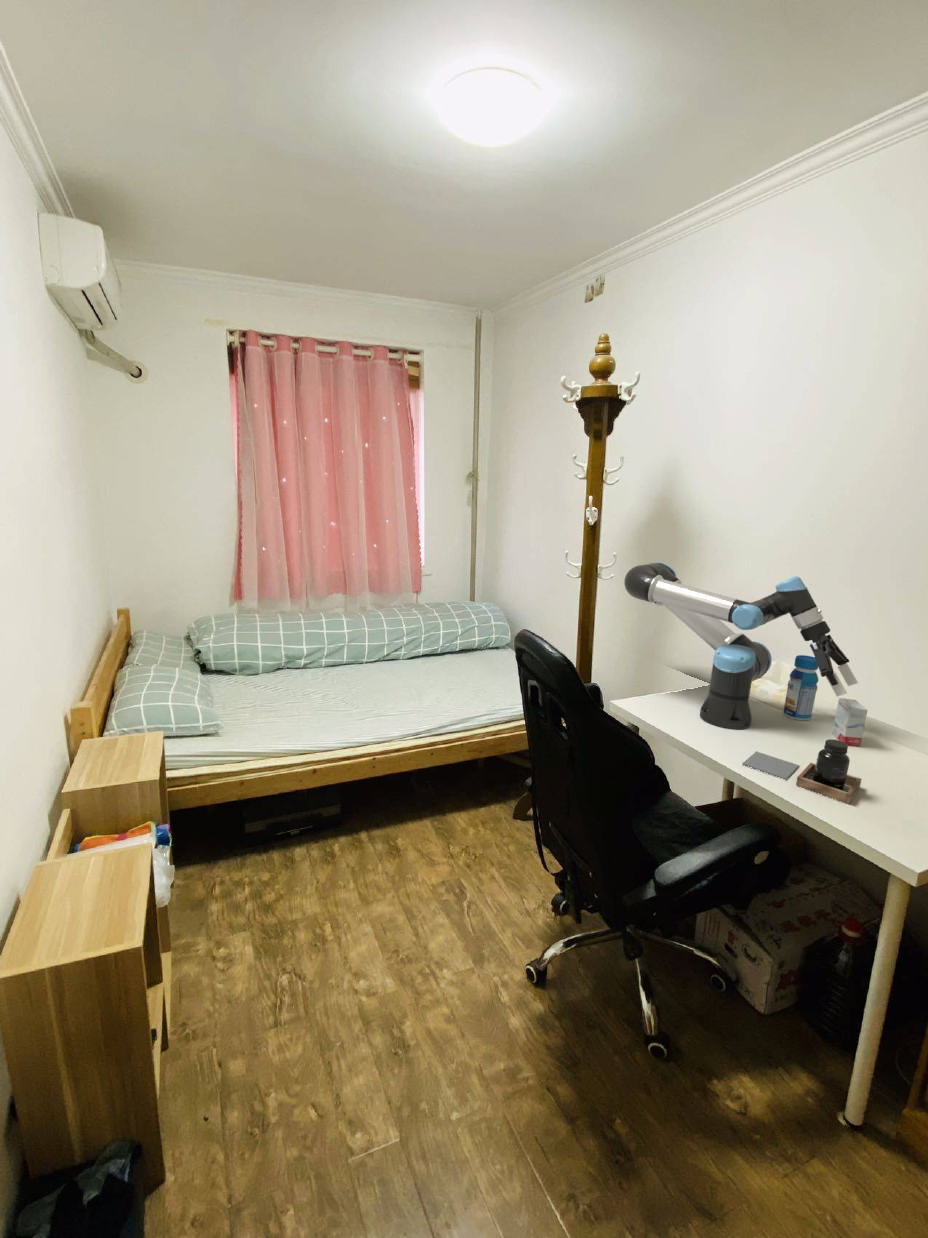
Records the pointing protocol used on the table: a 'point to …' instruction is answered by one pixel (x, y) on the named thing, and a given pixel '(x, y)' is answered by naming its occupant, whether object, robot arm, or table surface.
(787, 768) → the grey rubber mat
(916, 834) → the table surface
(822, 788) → the walnut open box
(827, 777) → the supplement bottle
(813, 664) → the beverage bottle
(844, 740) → the ink box
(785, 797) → the table surface
